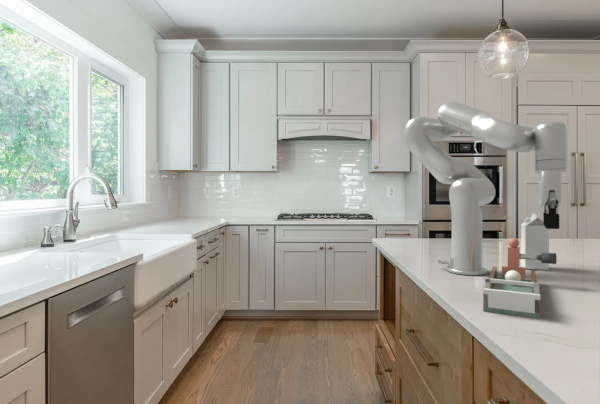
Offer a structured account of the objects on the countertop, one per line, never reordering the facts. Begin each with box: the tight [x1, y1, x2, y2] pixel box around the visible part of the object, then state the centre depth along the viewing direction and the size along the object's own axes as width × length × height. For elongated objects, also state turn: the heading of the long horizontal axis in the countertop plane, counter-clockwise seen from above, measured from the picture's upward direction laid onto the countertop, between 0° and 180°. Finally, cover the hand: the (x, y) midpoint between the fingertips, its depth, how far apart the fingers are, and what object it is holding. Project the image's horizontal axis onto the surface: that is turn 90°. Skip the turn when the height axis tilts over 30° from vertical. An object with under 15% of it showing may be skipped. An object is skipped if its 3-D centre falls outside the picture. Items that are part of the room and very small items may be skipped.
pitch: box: [482, 266, 541, 320], centre depth 101 cm, size 11×36×4 cm, turn 150°
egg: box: [505, 270, 521, 281], centre depth 108 cm, size 4×4×4 cm
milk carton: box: [520, 213, 550, 271], centre depth 136 cm, size 7×7×19 cm
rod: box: [501, 237, 558, 279], centre depth 113 cm, size 14×3×12 cm, turn 60°
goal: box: [482, 277, 541, 315], centre depth 88 cm, size 11×6×5 cm, turn 60°
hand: (551, 227), depth 109 cm, fingers open, 9 cm apart
